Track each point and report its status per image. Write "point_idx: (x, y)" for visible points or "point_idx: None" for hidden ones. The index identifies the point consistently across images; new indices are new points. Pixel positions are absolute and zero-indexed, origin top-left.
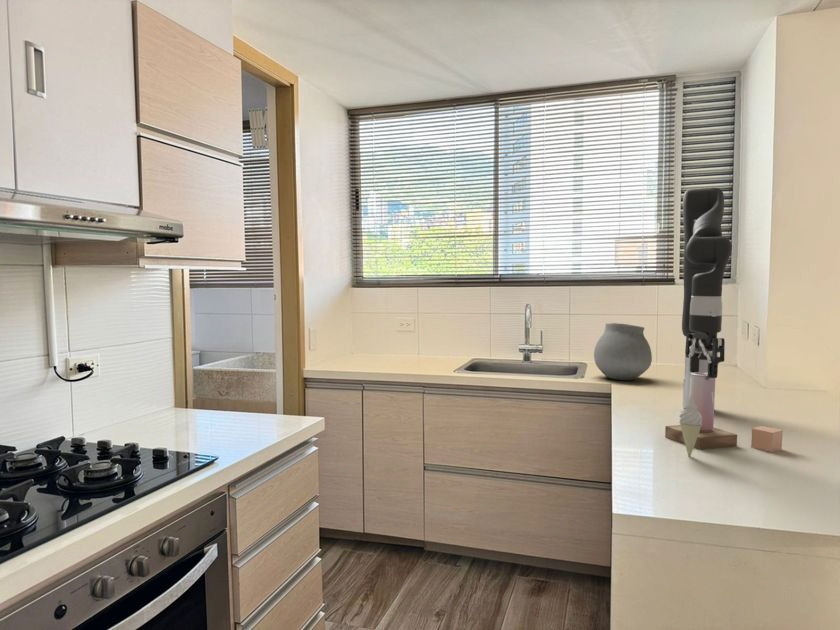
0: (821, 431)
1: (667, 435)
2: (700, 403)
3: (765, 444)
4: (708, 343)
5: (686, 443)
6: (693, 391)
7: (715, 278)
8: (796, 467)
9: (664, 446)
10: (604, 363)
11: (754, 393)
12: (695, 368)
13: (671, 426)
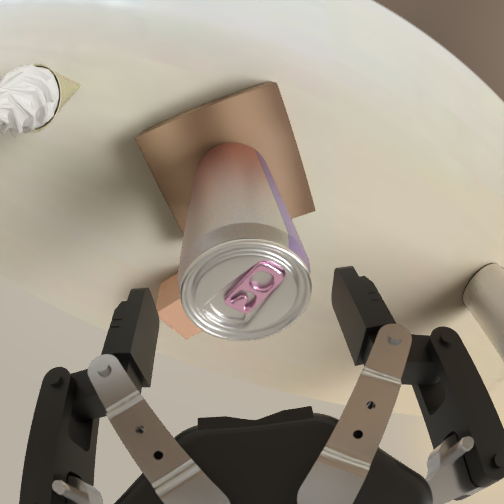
0: (316, 391)
1: (262, 84)
2: (193, 196)
3: (168, 286)
4: (124, 500)
5: (56, 80)
6: (216, 194)
7: None
8: (68, 276)
9: (162, 43)
10: None
11: (492, 369)
12: (339, 302)
13: (272, 100)
